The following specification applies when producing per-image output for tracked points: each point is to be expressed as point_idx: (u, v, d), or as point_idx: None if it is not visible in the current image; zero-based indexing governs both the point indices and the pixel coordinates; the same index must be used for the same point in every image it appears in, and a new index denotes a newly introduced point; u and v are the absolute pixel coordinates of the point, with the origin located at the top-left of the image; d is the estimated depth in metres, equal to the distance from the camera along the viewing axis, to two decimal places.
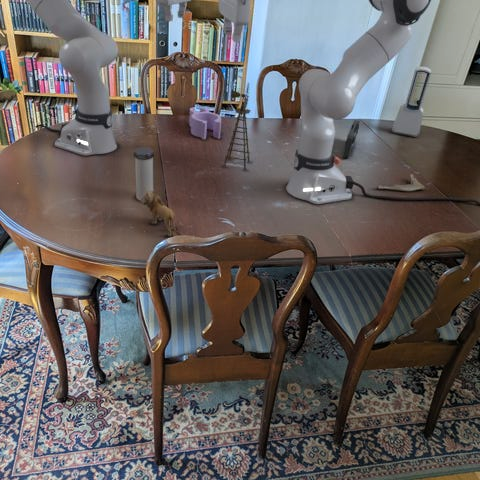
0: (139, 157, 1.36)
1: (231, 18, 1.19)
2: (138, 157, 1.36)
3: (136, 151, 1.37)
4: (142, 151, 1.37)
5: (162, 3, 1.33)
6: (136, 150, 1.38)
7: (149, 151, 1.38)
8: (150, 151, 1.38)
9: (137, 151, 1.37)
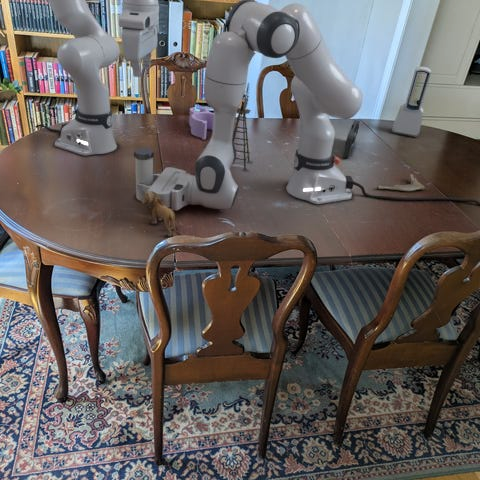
0: (139, 157, 1.36)
1: None
2: (138, 157, 1.36)
3: (136, 151, 1.37)
4: (142, 151, 1.37)
5: (131, 59, 1.15)
6: (136, 150, 1.38)
7: (149, 151, 1.38)
8: (150, 151, 1.38)
9: (137, 151, 1.37)
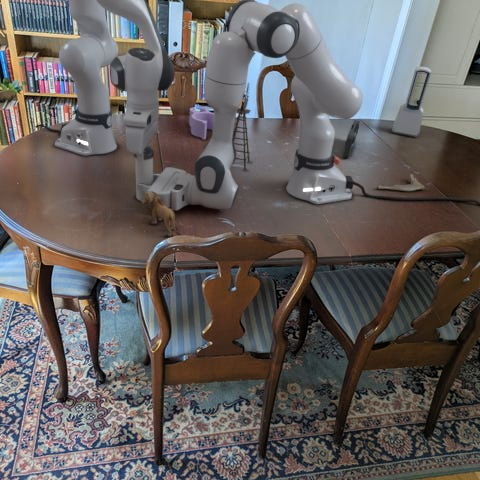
0: None
1: None
2: None
3: None
4: None
5: (134, 152, 1.28)
6: None
7: (149, 151, 1.38)
8: (150, 151, 1.38)
9: None
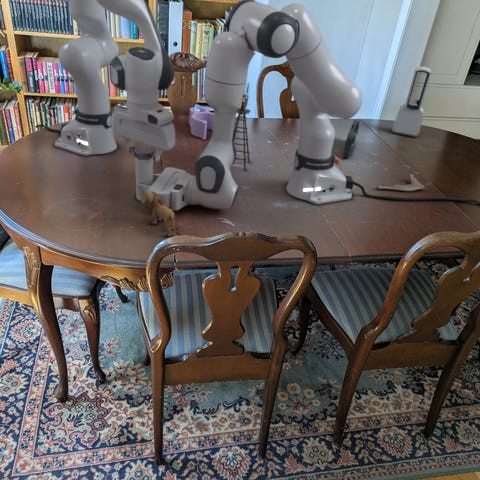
0: (152, 155, 1.38)
1: None
2: (151, 156, 1.37)
3: (145, 152, 1.36)
4: (145, 150, 1.38)
5: (171, 148, 1.33)
6: (143, 152, 1.36)
7: (146, 148, 1.39)
8: (146, 147, 1.39)
9: (145, 152, 1.36)
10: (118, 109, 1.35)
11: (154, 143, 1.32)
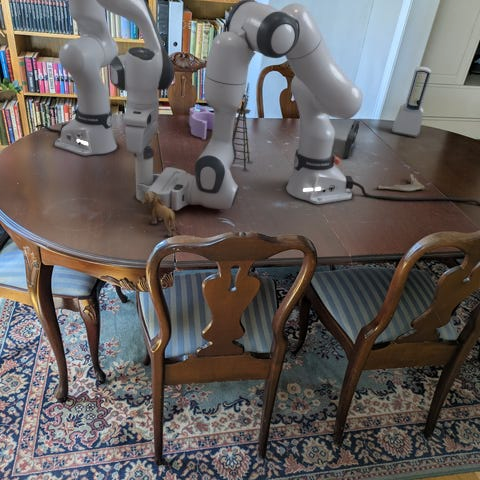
0: (152, 155, 1.38)
1: None
2: (151, 156, 1.37)
3: (145, 152, 1.36)
4: (145, 150, 1.38)
5: (134, 152, 1.28)
6: (143, 152, 1.36)
7: (146, 147, 1.39)
8: (146, 147, 1.39)
9: (145, 152, 1.36)
10: None
11: None
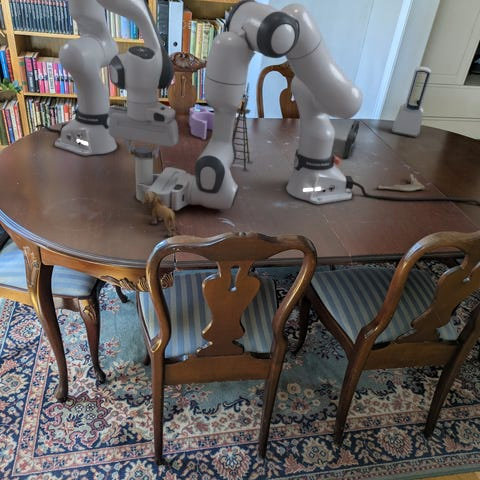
0: None
1: None
2: None
3: (151, 148, 1.38)
4: (145, 148, 1.38)
5: (176, 143, 1.35)
6: (150, 149, 1.38)
7: (138, 147, 1.38)
8: (137, 147, 1.38)
9: (150, 148, 1.38)
10: (113, 111, 1.33)
11: (159, 141, 1.33)
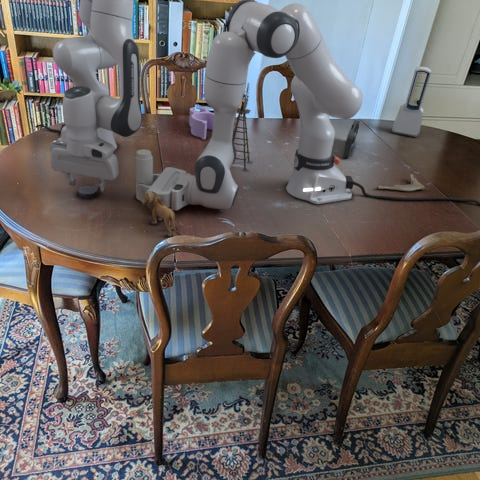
0: None
1: None
2: None
3: (95, 189, 1.44)
4: (89, 188, 1.44)
5: (116, 177, 1.40)
6: (94, 190, 1.44)
7: (82, 188, 1.44)
8: (81, 188, 1.44)
9: (94, 189, 1.44)
10: (55, 146, 1.37)
11: (99, 175, 1.38)
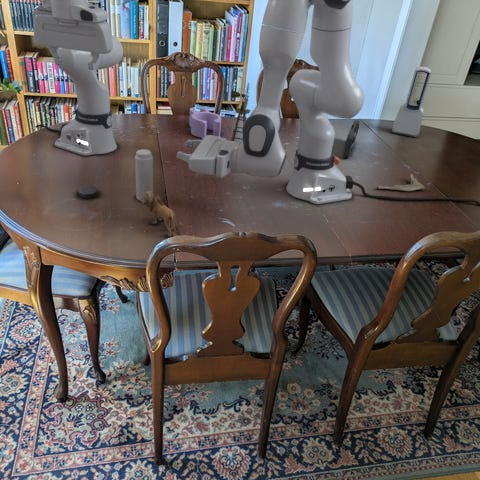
0: None
1: None
2: None
3: (95, 189, 1.44)
4: (89, 188, 1.44)
5: (109, 51, 1.20)
6: (94, 190, 1.44)
7: (82, 188, 1.44)
8: (81, 188, 1.44)
9: (94, 189, 1.44)
10: (38, 12, 1.18)
11: (89, 47, 1.19)
